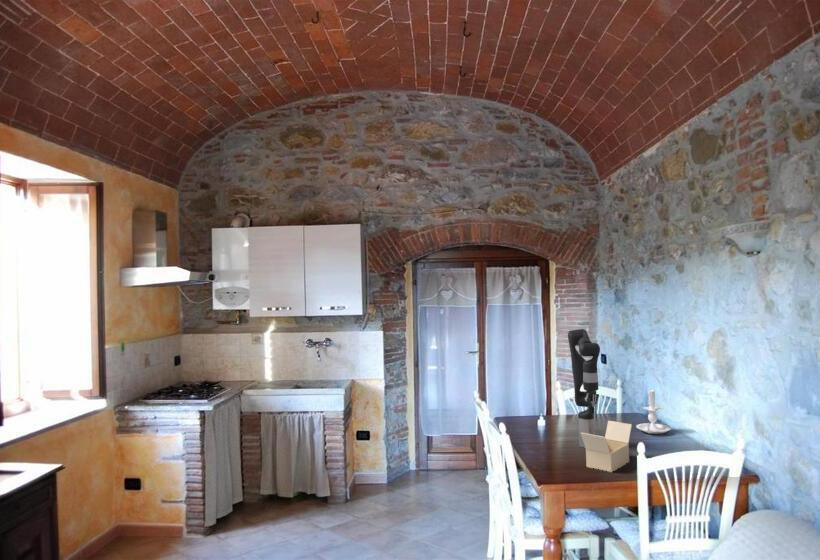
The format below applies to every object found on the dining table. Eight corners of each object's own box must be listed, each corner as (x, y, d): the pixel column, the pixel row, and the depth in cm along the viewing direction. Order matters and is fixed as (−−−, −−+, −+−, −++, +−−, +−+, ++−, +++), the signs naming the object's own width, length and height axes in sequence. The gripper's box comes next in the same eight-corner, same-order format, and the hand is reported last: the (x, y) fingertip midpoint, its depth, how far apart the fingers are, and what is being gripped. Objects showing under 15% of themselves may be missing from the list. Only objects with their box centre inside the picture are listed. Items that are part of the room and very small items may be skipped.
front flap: (580, 432, 281) (580, 433, 281) (605, 436, 271) (604, 437, 271) (586, 447, 285) (585, 448, 284) (610, 453, 275) (609, 453, 275)
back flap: (604, 438, 300) (604, 439, 300) (628, 443, 290) (628, 443, 290) (608, 420, 304) (608, 420, 304) (631, 424, 294) (632, 424, 294)
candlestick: (631, 435, 339) (629, 392, 340) (640, 426, 359) (638, 385, 360) (665, 440, 327) (663, 395, 327) (673, 430, 347) (671, 388, 347)
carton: (604, 456, 300) (604, 439, 300) (629, 461, 290) (628, 443, 290) (586, 466, 285) (585, 448, 285) (611, 472, 275) (610, 453, 275)
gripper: (589, 378, 284) (591, 410, 284) (577, 381, 275) (579, 414, 275) (603, 379, 279) (604, 412, 279) (591, 383, 270) (592, 417, 270)
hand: (591, 413), depth 277 cm, fingers closed
